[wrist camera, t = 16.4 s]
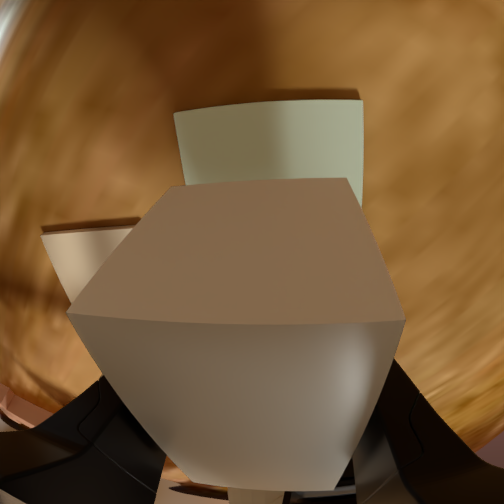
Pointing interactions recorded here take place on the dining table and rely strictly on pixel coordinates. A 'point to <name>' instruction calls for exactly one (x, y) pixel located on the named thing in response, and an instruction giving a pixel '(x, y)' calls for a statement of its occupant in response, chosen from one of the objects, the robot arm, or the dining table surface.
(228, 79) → the dining table surface
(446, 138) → the dining table surface
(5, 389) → the latch bar
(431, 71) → the dining table surface
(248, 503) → the kitchen timer
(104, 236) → the housing
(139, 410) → the block
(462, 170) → the dining table surface
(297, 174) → the mat
